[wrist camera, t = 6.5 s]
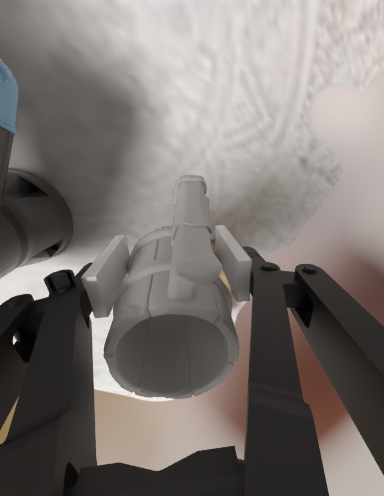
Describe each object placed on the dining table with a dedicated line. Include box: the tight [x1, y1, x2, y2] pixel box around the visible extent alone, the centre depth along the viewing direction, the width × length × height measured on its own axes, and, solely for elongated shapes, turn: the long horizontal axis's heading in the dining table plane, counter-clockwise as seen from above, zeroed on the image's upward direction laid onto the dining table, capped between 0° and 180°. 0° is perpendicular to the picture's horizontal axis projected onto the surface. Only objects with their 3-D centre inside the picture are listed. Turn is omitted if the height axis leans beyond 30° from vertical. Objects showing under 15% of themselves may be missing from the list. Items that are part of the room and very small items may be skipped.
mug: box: [104, 176, 239, 399], centre depth 12 cm, size 8×12×12 cm, turn 171°
